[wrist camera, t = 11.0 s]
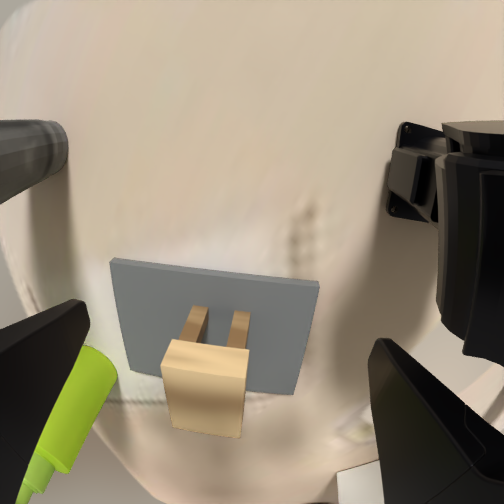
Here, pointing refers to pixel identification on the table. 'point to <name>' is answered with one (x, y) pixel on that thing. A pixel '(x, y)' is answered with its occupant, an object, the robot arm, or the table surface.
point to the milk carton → (361, 485)
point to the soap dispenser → (69, 420)
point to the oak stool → (207, 377)
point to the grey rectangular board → (215, 316)
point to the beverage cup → (29, 154)
